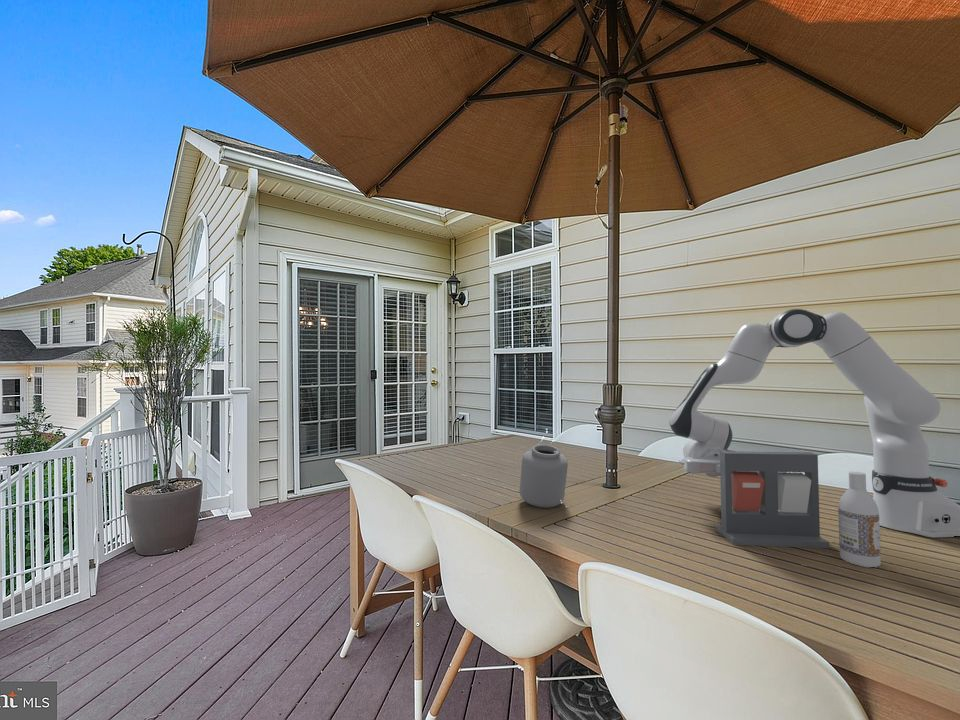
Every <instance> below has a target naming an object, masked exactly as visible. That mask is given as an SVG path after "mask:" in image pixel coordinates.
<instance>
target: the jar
mask: <svg viewBox="0 0 960 720" xmlns="http://www.w3.org/2000/svg"><path fill="white" fill-rule="evenodd" d="M545 430H546V431H545V432H546V433H547V434H548V428H545ZM544 437H545V436H542V439H541V441H540V443H541V442H542V440H543V439H545V438H544ZM552 442H553V443H554V440H552ZM552 442H551V443H552ZM568 462H569V461H568V460H567V458H566V456H565V455H563V454H562V453H561V450H560V449H559V448H558V447H555V446H552V445H549V444H535V445H533V446H532V447H531V449H530V450H527V451H525V452H524V453H523V455H522V459H521V469H520V471H521V473H520V482H519V483H520V484H519V496H520V497H521V499H522V500H524V502H525V503H527V504H528V505H531V506H533V507H536V508H541V509H542V508H543V509H549V508H555V507H557V506H559V505H561V504H563V501H564V499H565V493H566V492H565V491H566V487H567V486H566V485H567V484H566V483H567V474H568V465H569V463H568ZM565 508H567V506H565Z"/></svg>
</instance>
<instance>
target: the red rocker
mask: <svg viewBox="0 0 960 720" xmlns="http://www.w3.org/2000/svg"><path fill="white" fill-rule="evenodd" d="M731 479H732V510H745V511H760V504H761V498H762V492H763V486H764V480H763V479H762V477H761V476H760V475H759V474H758V473H757V472H732V475H731Z"/></svg>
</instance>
